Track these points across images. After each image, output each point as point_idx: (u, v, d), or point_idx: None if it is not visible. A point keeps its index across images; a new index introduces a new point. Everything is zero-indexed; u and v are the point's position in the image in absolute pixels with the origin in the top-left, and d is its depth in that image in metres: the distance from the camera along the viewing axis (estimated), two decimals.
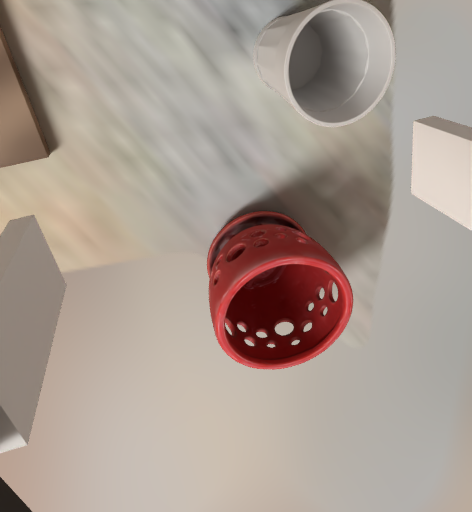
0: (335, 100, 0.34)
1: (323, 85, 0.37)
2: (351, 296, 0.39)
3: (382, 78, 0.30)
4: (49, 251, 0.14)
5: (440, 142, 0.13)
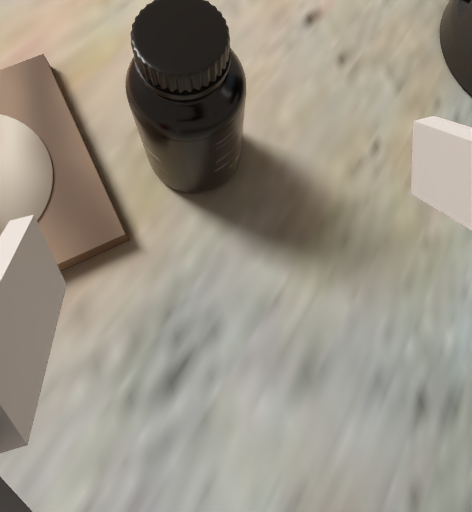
0: None
1: None
2: None
3: None
4: (49, 251, 0.14)
5: (439, 141, 0.13)
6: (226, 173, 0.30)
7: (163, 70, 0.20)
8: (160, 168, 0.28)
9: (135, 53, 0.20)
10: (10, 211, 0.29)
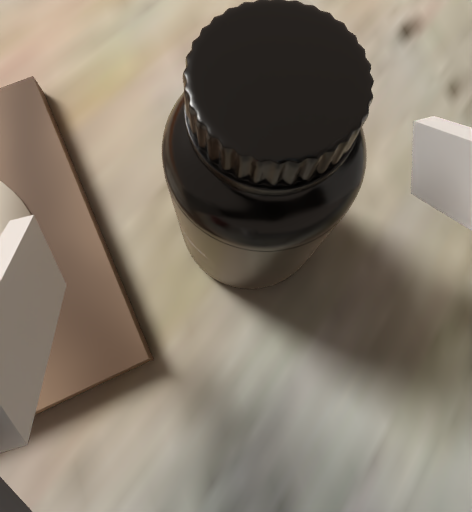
0: None
1: None
2: None
3: None
4: (49, 251, 0.14)
5: (440, 141, 0.13)
6: (301, 265, 0.20)
7: (249, 151, 0.10)
8: (205, 263, 0.18)
9: (192, 113, 0.10)
10: None
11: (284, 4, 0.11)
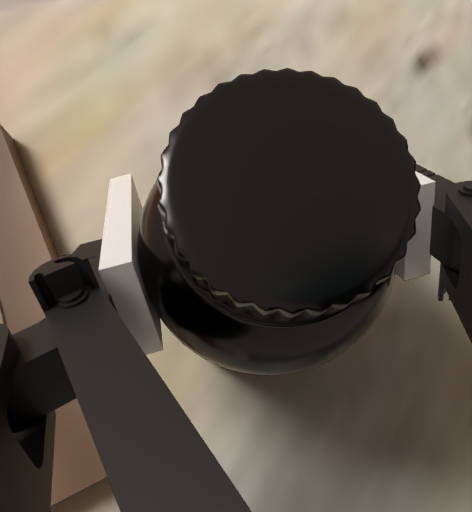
0: None
1: None
2: None
3: None
4: (140, 207, 0.16)
5: None
6: None
7: (250, 295, 0.07)
8: None
9: (170, 236, 0.07)
10: None
11: (295, 77, 0.08)
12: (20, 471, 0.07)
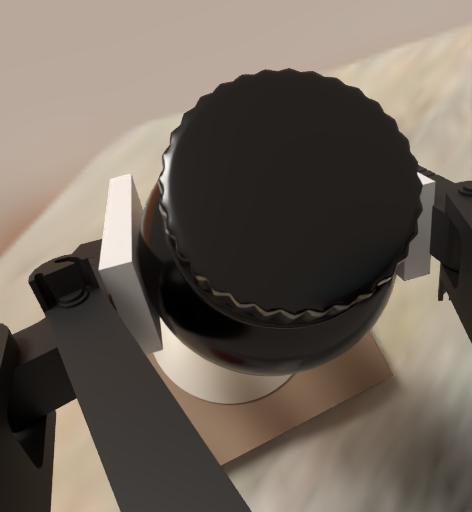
0: None
1: None
2: None
3: None
4: (140, 207, 0.16)
5: None
6: None
7: (252, 296, 0.07)
8: None
9: (171, 237, 0.07)
10: None
11: (297, 77, 0.08)
12: (20, 471, 0.07)
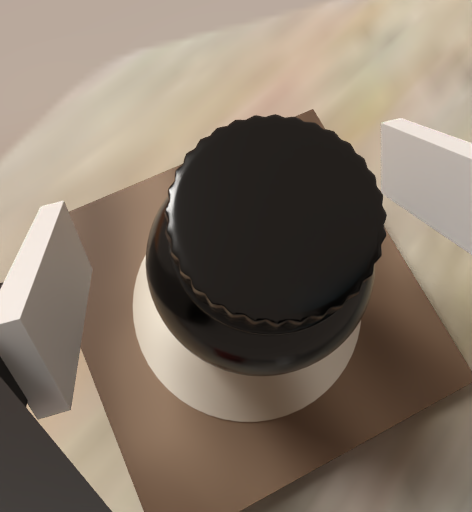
0: None
1: None
2: None
3: None
4: (77, 236, 0.15)
5: (403, 143, 0.14)
6: None
7: (242, 308, 0.08)
8: None
9: (175, 258, 0.09)
10: None
11: (281, 122, 0.10)
12: None
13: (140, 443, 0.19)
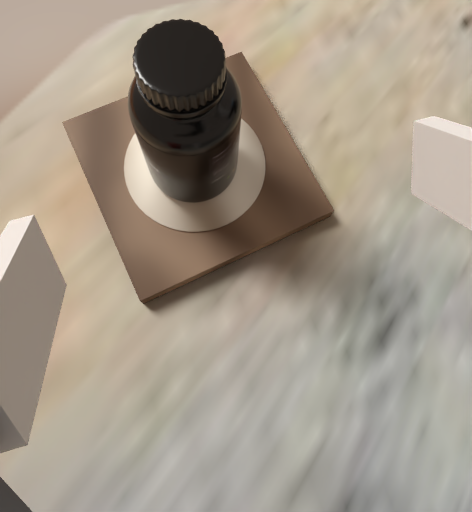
0: None
1: None
2: None
3: None
4: (49, 251, 0.14)
5: (439, 142, 0.13)
6: (223, 184, 0.31)
7: (163, 91, 0.21)
8: (160, 179, 0.30)
9: (137, 75, 0.22)
10: (232, 190, 0.33)
11: (183, 22, 0.22)
12: None
13: (128, 243, 0.32)
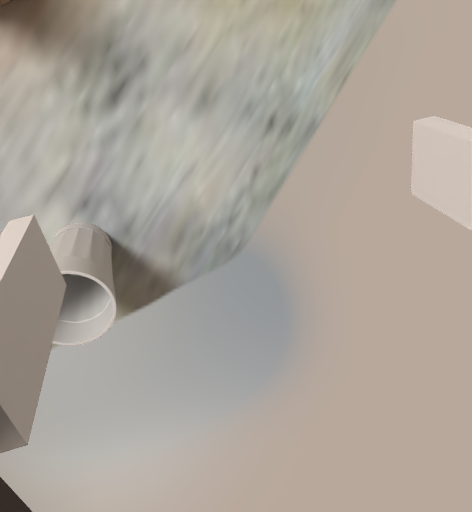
0: None
1: (66, 288, 0.45)
2: None
3: (75, 338, 0.40)
4: (49, 251, 0.14)
5: (440, 142, 0.13)
6: None
7: None
8: None
9: None
10: None
11: None
12: None
13: None
